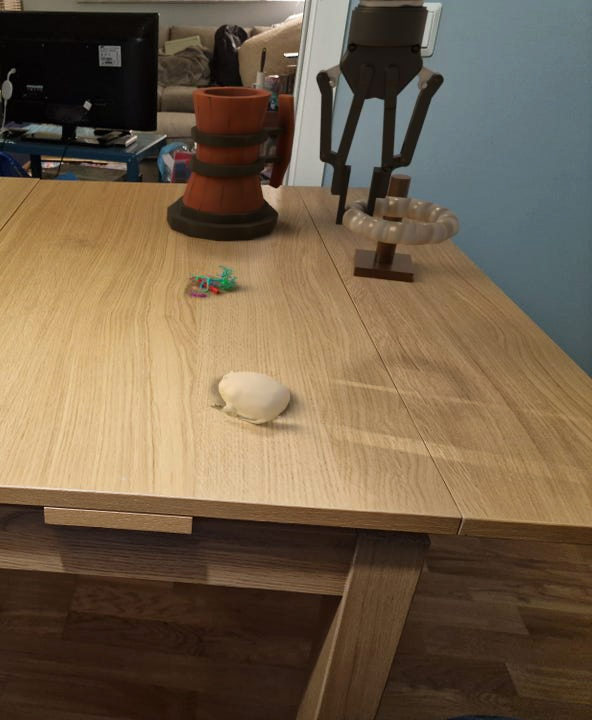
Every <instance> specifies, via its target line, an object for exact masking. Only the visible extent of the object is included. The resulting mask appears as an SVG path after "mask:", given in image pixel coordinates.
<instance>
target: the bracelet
mask: <svg viewBox="0 0 592 720" xmlns="http://www.w3.org/2000/svg"><path fill="white" fill-rule="evenodd" d="M367 202H368V197H363V198H360V199H357V200H354V201H352V202H349V203H348V204H347V205H345V210H344V216H343V222H342V224H343V225H344V226H345V227H346V228H347V229H348V230H350V231H351V232H353V233H355V234H357V235H358V236H360V237H363V238H366V239H370V240H373V241H377V242H378V241H381V242H384V243H393V244H397V245H403V246H404V245H405V246H425V245H436V244H441V243H443V242H445V241H448V240H449V239H452V238H454V237H455V236H456V235H458V233H459V232H460V228H461V227H460V226H461V225H460V221H459V219H458V217H457V214H456V213H455V212H454V211H453V210H450V209H448V208H446V207H443V206H442V205H440V204H437V203H434V202H430V201H426V200H422V199H417V198H411V197H410V198H409V197H407V198H399V197H387V196H386V197H385V199H383V198H376V203H375V208H374V213H373V217H371V216H369V215H367V214H366V208H367ZM383 216H390V217H401V218H403V219H409V220H413V221H417V223H413V222H412V223H411V222H403V221H402V222H392V221H387V220H383V219H382V218H380V217H383ZM378 217H379V218H378ZM418 222H419V223H418Z"/></svg>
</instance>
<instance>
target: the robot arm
mask: <svg viewBox="0 0 592 720" xmlns="http://www.w3.org/2000/svg"><path fill="white" fill-rule="evenodd" d="M424 3H425V0H359V3H358V4H357V6H354V9H352V10H351V17H350V23H349V29H348V37H347V43H346V49H345V52H344V54H343V55H342V56H341V58H340V61H339V63H337V64H335V65H333V66H332V67H329V68H327V69H321V70H319V71H318V72H317V74H316V76H315V80H316V83H317V86H318V90H319V94H320V98H321V99H320V126H319V161H320V162H322V163H326V164H328V165H330V166H332V168H333V173H332V179H331V185H330V194H331V196H339V199H338V205H337V212H336V218H335V225H337V226H343V216H344V210H345V207H346V203H347V196H348V191H349V186H350V185H349V184H350V178H351V172H352V165H350V164H347V160H348V157H349V153H350V151H351V146H352V145H353V141H354V137H355V134H356V131H357V127H358V123H359V120H360V117H361V114H362V110H363V107H364V104H365V101H366V100H371V99H377V100H381V101H383V114H382V116H383V117H382V119H383V120H382V138H381V159H380V160H381V161H380V166H373V170H372V174H371V175H372V176H371V180H370V185H369V186H370V187H369V192H368V196H367V198H368V202H367V208H366V214H367V215H369V216H371V217H373V213H374V208H375V203H376V198H383V199H385V197H387V194H388V189H389V184H390V180H391V176H392V173H393V171H394V170H396V169H400V168H407V167H409V166H410V165H411V163H412V160H413V157H414V154H415V151H416V149H417V145H418V142H419V140H420V136H421V133H422V130H423V126H424V124H425V120H426V117H427V115H428V111H429V109H430V105H431V102H432V99H433V98H434V96H435V95H436V93H437V92H438V91H439V90H440V88H441V87H442V85H443V83H444V82H445V77H444V76H443V74H441V73H440V72H439V71H433V70H432V69H430V68H428V67H426V66H425V65H424V59H423V55H422V45H423V40H424V36H425V31H426V26H427V20H428V15H429V9H428V6H425V5H424ZM340 75H342V76H343V78H344V80H345V82H346V83H347V85H348V87H349V89H350V91H351V92H352V94H353V96H352V99H351V103H350V107H349V111H348V114H347V117H346V120H345V125H344V127H343V130H342V131H343V132H342V135H341V138H340V142H339V144H338V148H337V151H334V150H332V145H333V144H332V143H333V142H332V141H333V117H334V116H333V113H334V88H336V87H337V86H338V84H339V78H340V77H339V76H340ZM417 76H418V82H417V84H416V85H417V89H418V90H419V92H418V95H417V98H416V100H415V104H414V107H413V110H412V113H411V116H410V120H409V123H408V127H407V129H406V133H405V135H404V139H403V142H402V145H401V149H400V152H399V154H395V137H396V121H397V120H396V119H397V104H398V96H399V95H400V94H401V93H402V92H403V91H404V89H405V88H406V87H408V85H410V83H411V82H412V81H413V80H414V79H415V78H416V77H417Z"/></svg>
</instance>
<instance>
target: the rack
mask: <svg viewBox="0 0 592 720" xmlns="http://www.w3.org/2000/svg"><path fill="white" fill-rule="evenodd" d="M411 182H412V176H411V175H407V174H401V173H399V174H398V173H395V174H391V178H390V183H389V188H388V193H387V196H386V197H399V198H408V196H409V192H410V187H411ZM381 219H383V220H387V221H392V222H403V219H404V218H401V217H390V216H382V218H381ZM397 245H398V244H393V243H384V242H381V241H377V244H376V248H375V250H373V249H372V250H370V249H361V248H355V249H354V255H353V273H352V274H353V275H352V276H356V277H365V278H374V279H383V280H391V281H400V282H407V283H412V282H413V279H414V275H415V274H414V267H413V261H412V255H411V254H410V253H400V252H399V253H398V252H396V250H397Z"/></svg>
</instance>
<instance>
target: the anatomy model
mask: <svg viewBox="0 0 592 720" xmlns="http://www.w3.org/2000/svg"><path fill="white" fill-rule="evenodd" d="M218 268H222V269H223V271H222V272H221V274H217V277H220V278H212V277H211V276H208V275H196V274H192V273H190V274H189V276H190V277H185V279H188V280H192V283H194V282H195V280H196V282H198V283H200V285H199V287H198V286H197V285H196V286H195V285H194V286H192V289H194V290H200V293H199V294H196V293H195V292H193V291H190V292H189V294H190V295H192V297H198V298H205V297H207V294H205V293H206V292H208V291H209V290H210V291H212V292H213V293H215V294H216V295H219V294H220V290H219V289H218V288H216V287H217V285H218V284H217V283H215V282H218V283H219V288H222V290H224V291H225V290H229V289H230V290H231V289H232V288H233V289H234V290H235V289H236V285H237V283H238V282H237V279H238V277H237V276H236V275H235V273H234V272H235V271H234V270H233V268H231V267H229V268H228V267H226V266H224V265H219V266H218ZM203 286H204V287H205V288H206V290H203V291H201V290H202V289H203Z"/></svg>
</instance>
